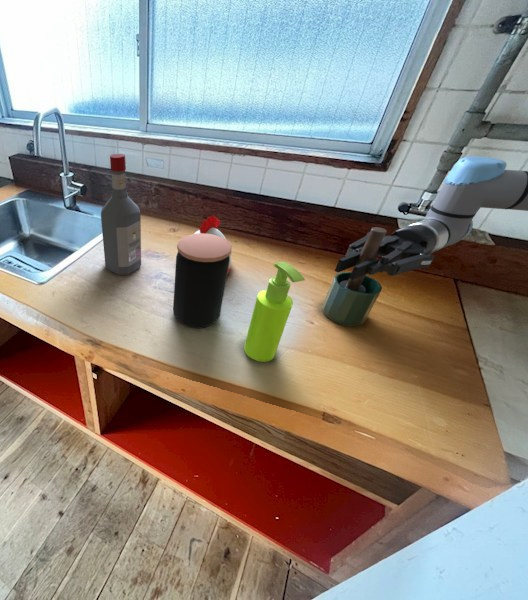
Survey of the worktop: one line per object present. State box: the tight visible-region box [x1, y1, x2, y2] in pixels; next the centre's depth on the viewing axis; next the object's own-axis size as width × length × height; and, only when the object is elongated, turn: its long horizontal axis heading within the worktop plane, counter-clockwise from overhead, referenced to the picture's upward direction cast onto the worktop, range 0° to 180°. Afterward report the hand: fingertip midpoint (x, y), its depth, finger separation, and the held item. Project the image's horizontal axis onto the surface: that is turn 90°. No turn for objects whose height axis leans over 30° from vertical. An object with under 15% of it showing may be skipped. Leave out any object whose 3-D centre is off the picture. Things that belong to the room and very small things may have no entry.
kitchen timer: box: [193, 214, 232, 275], centre depth 86 cm, size 14×14×15 cm
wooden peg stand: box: [340, 226, 388, 293], centre depth 65 cm, size 5×5×18 cm
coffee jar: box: [172, 233, 233, 329], centre depth 69 cm, size 11×11×18 cm
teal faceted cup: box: [321, 271, 383, 327], centre depth 70 cm, size 9×9×8 cm
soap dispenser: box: [243, 261, 306, 363], centre depth 58 cm, size 6×7×20 cm
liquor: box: [100, 153, 142, 276], centre depth 84 cm, size 9×9×30 cm
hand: (346, 269), depth 62 cm, fingers closed on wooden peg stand, 2 cm apart
